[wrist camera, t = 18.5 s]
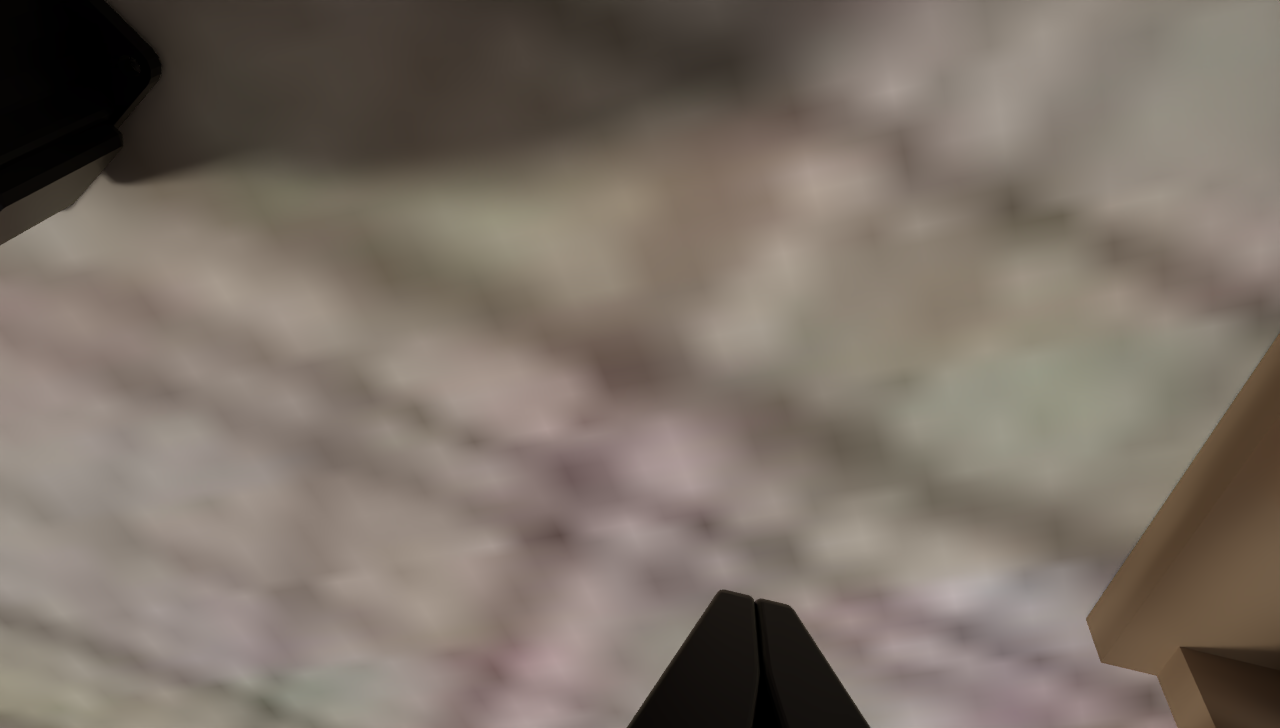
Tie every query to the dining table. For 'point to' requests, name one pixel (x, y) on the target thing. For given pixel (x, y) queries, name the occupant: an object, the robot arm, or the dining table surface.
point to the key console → (1210, 575)
